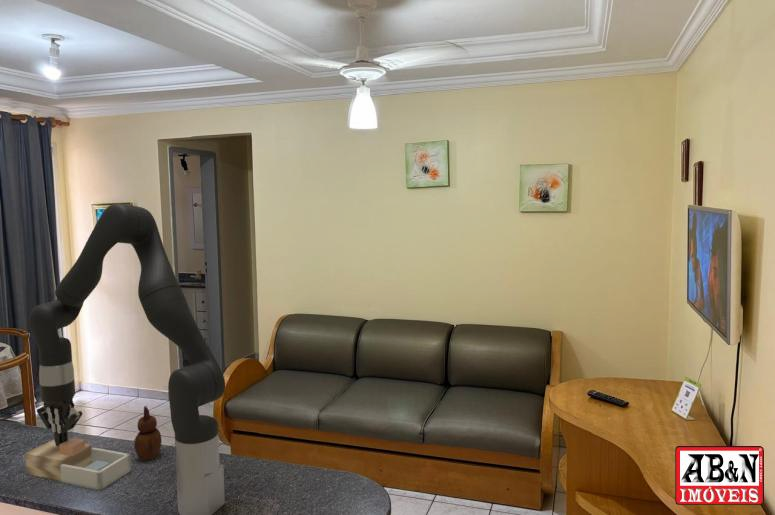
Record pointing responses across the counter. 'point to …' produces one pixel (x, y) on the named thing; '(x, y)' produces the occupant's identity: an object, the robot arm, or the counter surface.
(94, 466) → the slate tile
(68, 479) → the tray
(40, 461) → the wooden block
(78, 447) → the terracotta tile
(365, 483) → the counter surface
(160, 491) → the counter surface
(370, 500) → the counter surface
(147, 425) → the wooden figurine
